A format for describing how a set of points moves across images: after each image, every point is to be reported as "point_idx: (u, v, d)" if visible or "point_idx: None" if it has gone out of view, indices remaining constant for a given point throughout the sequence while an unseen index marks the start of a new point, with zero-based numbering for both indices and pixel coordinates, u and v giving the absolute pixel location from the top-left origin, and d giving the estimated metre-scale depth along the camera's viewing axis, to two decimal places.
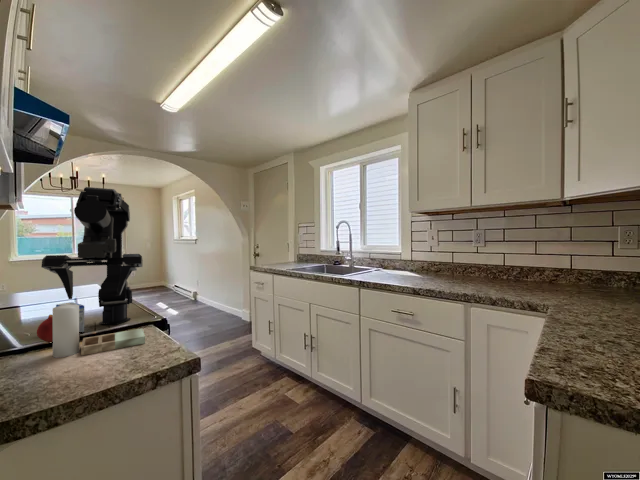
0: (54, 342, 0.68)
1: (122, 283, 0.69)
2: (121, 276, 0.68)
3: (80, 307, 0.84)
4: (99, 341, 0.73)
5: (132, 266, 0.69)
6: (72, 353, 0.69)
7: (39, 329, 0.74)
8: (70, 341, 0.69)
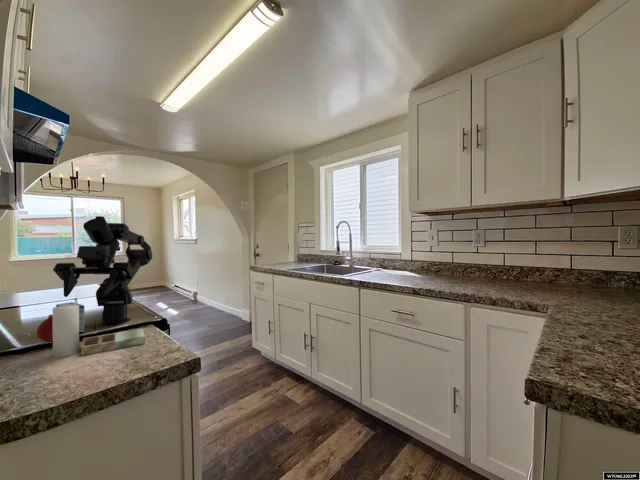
0: (54, 342, 0.68)
1: (108, 284, 0.80)
2: (109, 279, 0.81)
3: (80, 307, 0.84)
4: (99, 341, 0.73)
5: (119, 269, 0.82)
6: (72, 353, 0.69)
7: (39, 329, 0.74)
8: (70, 341, 0.69)
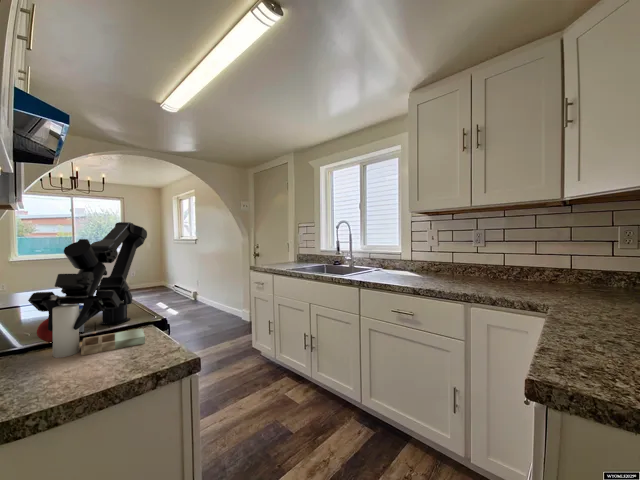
0: (54, 342, 0.68)
1: (81, 316, 0.71)
2: (82, 310, 0.72)
3: (80, 307, 0.84)
4: (99, 341, 0.73)
5: (94, 299, 0.73)
6: (72, 353, 0.69)
7: (39, 329, 0.74)
8: (70, 341, 0.69)
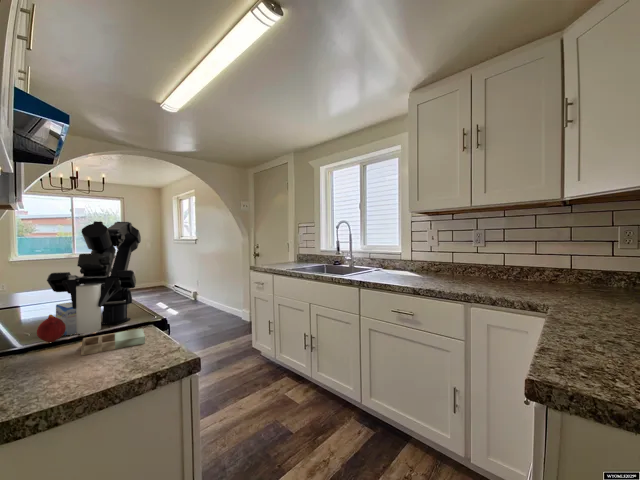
0: (79, 319, 0.70)
1: (104, 295, 0.74)
2: (104, 289, 0.75)
3: None
4: (99, 341, 0.73)
5: (115, 278, 0.76)
6: (96, 329, 0.73)
7: (39, 329, 0.74)
8: (95, 318, 0.72)
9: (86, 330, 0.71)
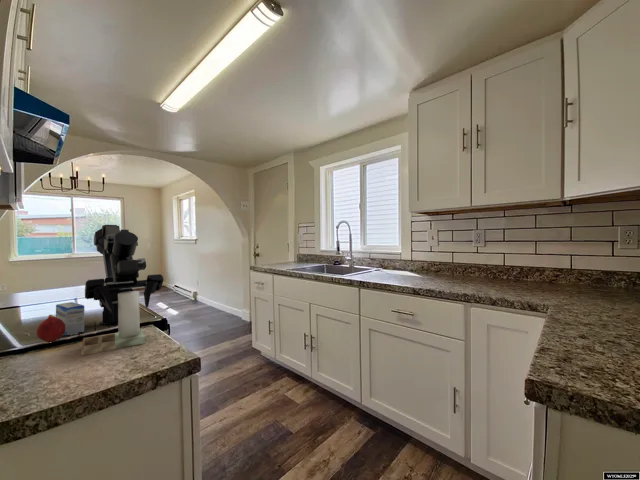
0: (125, 324, 0.76)
1: (149, 296, 0.82)
2: (147, 291, 0.82)
3: (80, 307, 0.84)
4: (99, 341, 0.73)
5: (155, 281, 0.84)
6: (139, 332, 0.79)
7: (39, 329, 0.74)
8: (137, 321, 0.79)
9: (132, 333, 0.77)
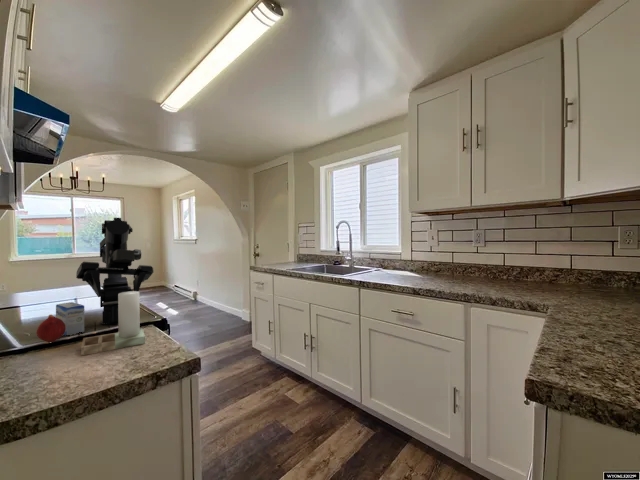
0: (125, 324, 0.76)
1: (139, 286, 0.87)
2: (138, 281, 0.87)
3: (80, 307, 0.84)
4: (99, 341, 0.73)
5: (148, 273, 0.89)
6: (139, 332, 0.79)
7: (39, 329, 0.74)
8: (138, 322, 0.79)
9: (132, 333, 0.77)
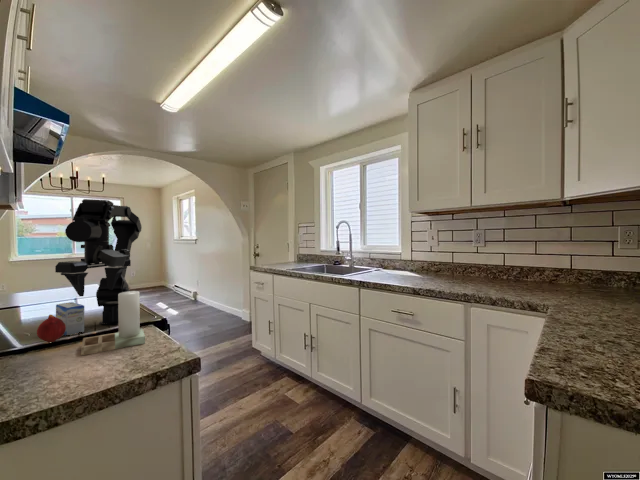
0: (125, 324, 0.76)
1: (115, 280, 0.87)
2: (116, 275, 0.87)
3: (80, 307, 0.84)
4: (99, 341, 0.73)
5: (126, 268, 0.89)
6: (139, 332, 0.79)
7: (39, 329, 0.74)
8: (138, 322, 0.79)
9: (131, 333, 0.77)
